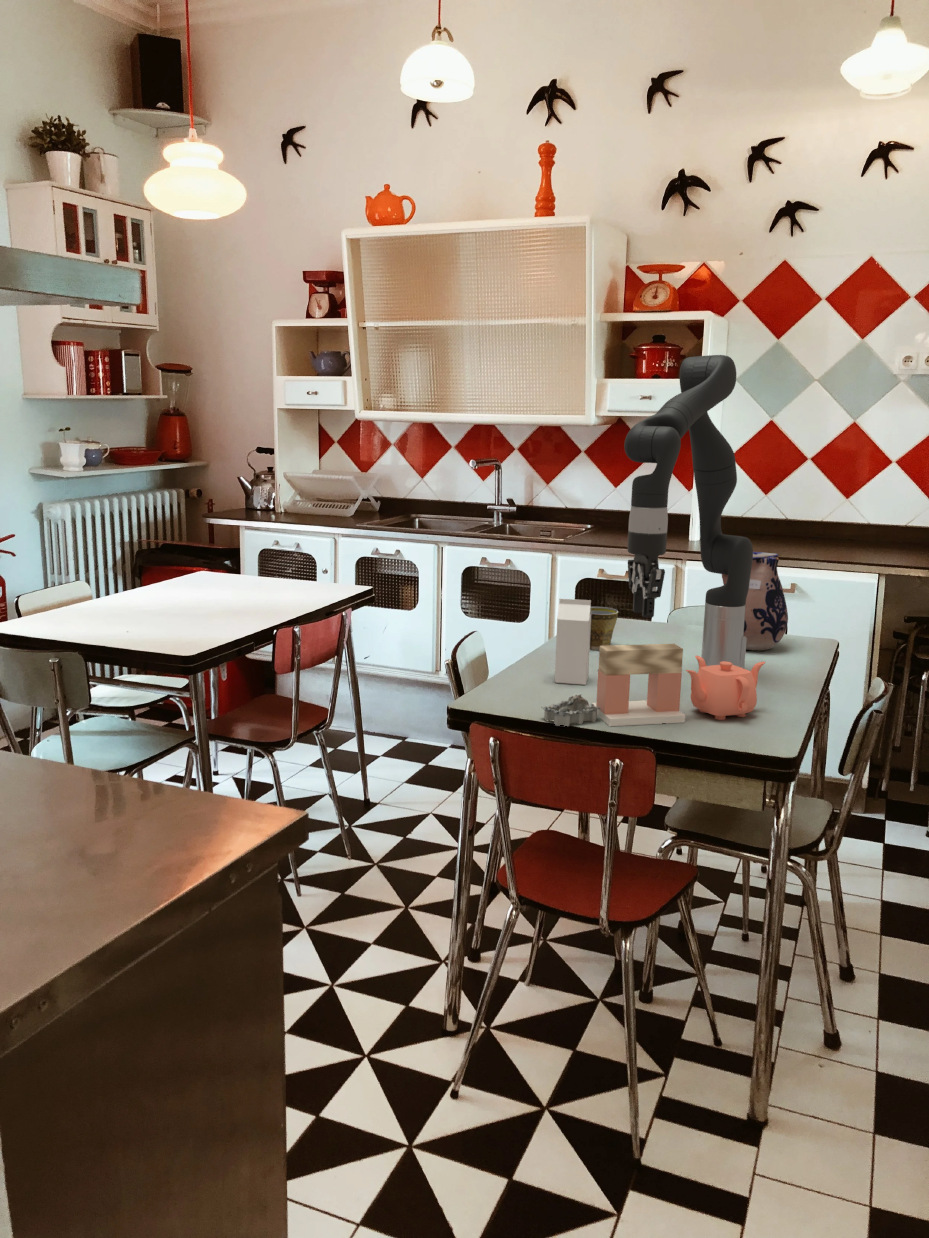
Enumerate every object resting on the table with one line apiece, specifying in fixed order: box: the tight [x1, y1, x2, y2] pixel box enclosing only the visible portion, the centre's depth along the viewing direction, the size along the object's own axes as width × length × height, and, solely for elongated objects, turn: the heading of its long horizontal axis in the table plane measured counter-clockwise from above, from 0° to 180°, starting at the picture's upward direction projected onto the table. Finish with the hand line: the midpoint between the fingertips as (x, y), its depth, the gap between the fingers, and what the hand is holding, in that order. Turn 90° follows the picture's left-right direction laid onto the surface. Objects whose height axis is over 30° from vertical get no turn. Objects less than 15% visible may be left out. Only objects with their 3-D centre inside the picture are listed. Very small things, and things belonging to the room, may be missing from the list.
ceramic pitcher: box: [721, 551, 789, 651], centre depth 261 cm, size 18×21×25 cm
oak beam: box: [598, 643, 684, 676], centre depth 198 cm, size 16×4×5 cm, turn 101°
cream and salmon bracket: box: [590, 668, 686, 727], centre depth 200 cm, size 16×11×10 cm
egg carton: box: [541, 694, 601, 727], centre depth 198 cm, size 11×8×4 cm
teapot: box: [685, 655, 766, 721], centre depth 203 cm, size 14×14×11 cm
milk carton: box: [554, 598, 592, 686], centre depth 225 cm, size 7×7×19 cm
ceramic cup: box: [590, 606, 619, 651], centre depth 259 cm, size 13×10×10 cm
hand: (643, 614), depth 197 cm, fingers open, 4 cm apart
